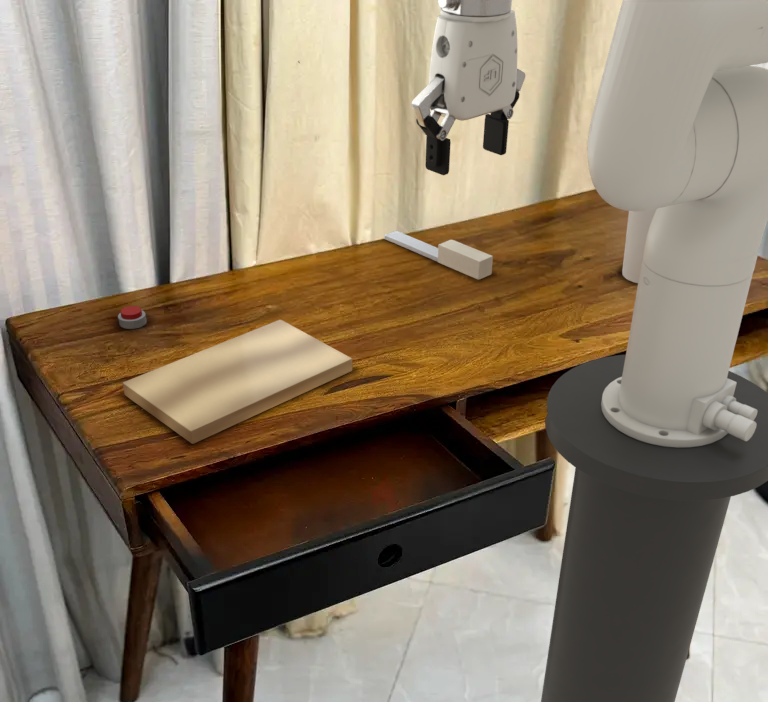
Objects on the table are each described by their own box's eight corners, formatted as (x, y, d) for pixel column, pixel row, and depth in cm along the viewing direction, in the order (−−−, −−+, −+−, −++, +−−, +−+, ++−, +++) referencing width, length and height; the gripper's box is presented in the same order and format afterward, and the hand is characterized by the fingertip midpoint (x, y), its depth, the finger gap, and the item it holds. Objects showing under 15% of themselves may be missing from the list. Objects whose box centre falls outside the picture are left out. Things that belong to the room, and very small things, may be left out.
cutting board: (352, 371, 103) (352, 358, 102) (192, 444, 92) (190, 431, 91) (281, 331, 110) (280, 319, 109) (124, 395, 99) (122, 382, 98)
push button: (141, 329, 110) (139, 317, 109) (115, 327, 110) (113, 315, 109) (150, 317, 112) (148, 305, 111) (125, 315, 112) (123, 303, 112)
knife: (491, 274, 121) (493, 255, 120) (478, 280, 120) (479, 261, 118) (396, 234, 131) (396, 216, 130) (383, 239, 130) (383, 221, 128)
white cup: (669, 290, 118) (685, 208, 112) (613, 281, 120) (626, 200, 113) (676, 267, 123) (692, 188, 116) (623, 260, 124) (635, 181, 118)
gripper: (444, 18, 97) (437, 189, 108) (556, -7, 106) (539, 152, 117) (392, 5, 101) (390, 171, 112) (503, -18, 110) (491, 137, 121)
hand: (466, 161), depth 115 cm, fingers open, 9 cm apart
